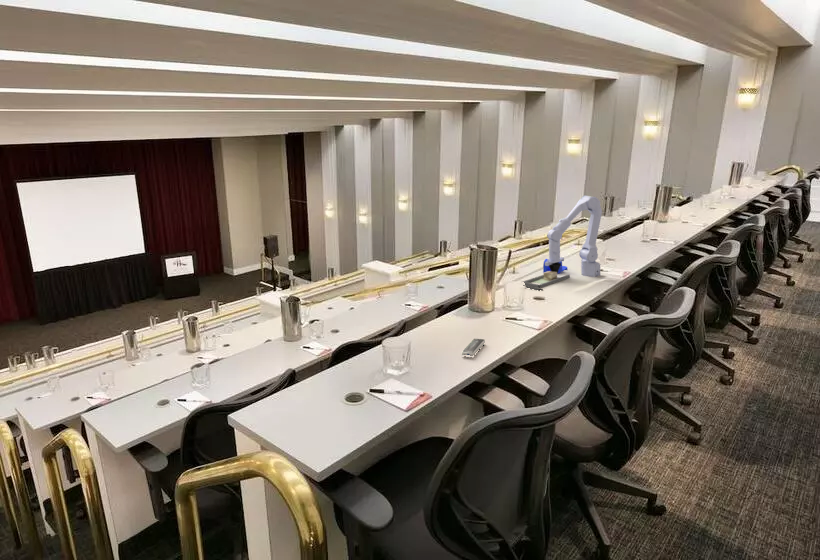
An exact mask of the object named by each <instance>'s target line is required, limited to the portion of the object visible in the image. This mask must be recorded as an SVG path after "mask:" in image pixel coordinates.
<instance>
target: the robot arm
mask: <svg viewBox="0 0 820 560" xmlns="http://www.w3.org/2000/svg"><path fill="white" fill-rule="evenodd" d="M583 211H588V213H589V214H590V217H589V221H588V225H587V226H588V228H587V232H586V237H585V242H584V243H583V244H582V247H581V249H580V251H579V253H578V254H579V257H580V258H581V262H580V263H581V266H580V267H581V269H580V271H581V272H580V273H581V275H582V276H585V277H592V278H595V277H599V276H601V263H600V262H597V260H598V258H599V257H598V256H599V254H598V247H597V239H598V234H599V230H600V223H601V219H602V214H603V210H602V206H601V200H600V199H599V198H598V197H597V196H590V195H587V194H586V195H585V194H584V195H583V196H581V198H580V199H578V201H577V202H576V204H575V206H574V207H573V208H572V209H571V210H570V212H568V214H567V215H566V217H562V218H560V219H559V220H558V223H556V224H555V225H554V226H553V227H552V229H549V230H548V232H547V234H546V236H547V239H548V258H547V259H548V261H546V262H545V266H549V268H550V270H551V271H553V272H557V275H558V274H559V273H558V270H559V268H560V266H561V263H559V262H561V261H562V262H564V261H565V257H562V256H561V240H562V237H563V235H564V233H565V232H566V231H567V230H568V229H569V227H570V226H571V223H572V221H573V220H574V219H575V218H576V217H578V215H579V214H580V213H581V212H583Z"/></svg>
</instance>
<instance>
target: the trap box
mask: <svg viewBox="0 0 820 560" xmlns="http://www.w3.org/2000/svg"><path fill="white" fill-rule="evenodd" d="M570 276H571V275H570V274H566V275H564V276H561V277H560V276H559V277H558V276H557V279H554V280H551V281H547V280H544V274H542V275H539V276H535V277H532V278H530V279H526V280H524V281H522V282H524V283H525V285H526V287H527V288H530V289H529V290H532V289H534V290H533V291H537V290H538V292H540V290H541V291H543V288H544V287H547V286H550V285H552V284H556V283H558V282H561V281H563V280H567V279H569V278H571V277H570ZM525 285H524V286H525Z"/></svg>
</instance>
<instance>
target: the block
mask: <svg viewBox="0 0 820 560" xmlns="http://www.w3.org/2000/svg"><path fill="white" fill-rule="evenodd" d="M543 275H544V280H547V281H551V280H554V279H557V277H558V274H557V272H553V271H547V272H544V273H543Z"/></svg>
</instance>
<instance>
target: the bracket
mask: <svg viewBox="0 0 820 560" xmlns="http://www.w3.org/2000/svg"><path fill="white" fill-rule="evenodd" d="M548 259H549V258H545V259H544V261H543V267H542V269H543V271H542V273H543V274H544V272H547V271H551V270H550V268H549V266H545V262H546V261H548ZM559 263H561V266H560V268H559V270H558V274H560V273H562V272H563V271H568V266H566V265H563V261H561V262H559Z"/></svg>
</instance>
